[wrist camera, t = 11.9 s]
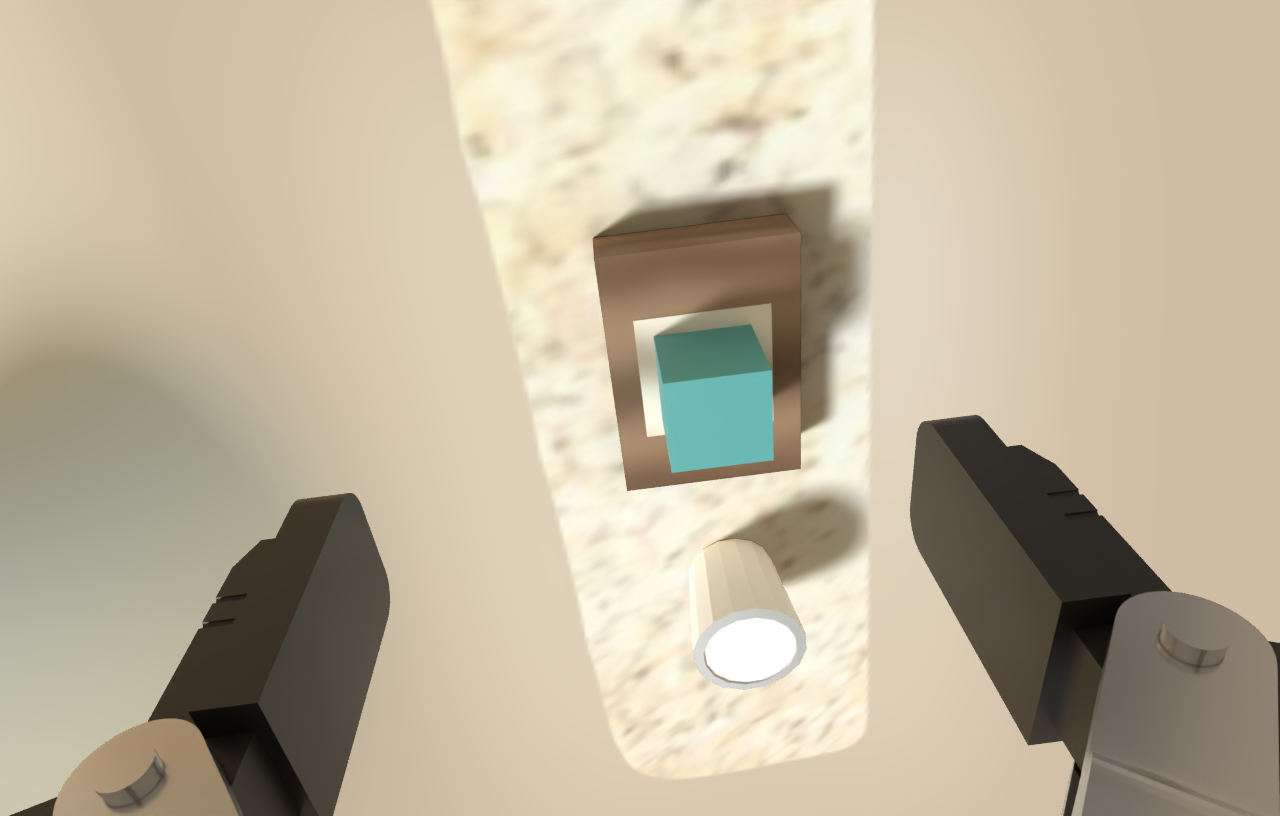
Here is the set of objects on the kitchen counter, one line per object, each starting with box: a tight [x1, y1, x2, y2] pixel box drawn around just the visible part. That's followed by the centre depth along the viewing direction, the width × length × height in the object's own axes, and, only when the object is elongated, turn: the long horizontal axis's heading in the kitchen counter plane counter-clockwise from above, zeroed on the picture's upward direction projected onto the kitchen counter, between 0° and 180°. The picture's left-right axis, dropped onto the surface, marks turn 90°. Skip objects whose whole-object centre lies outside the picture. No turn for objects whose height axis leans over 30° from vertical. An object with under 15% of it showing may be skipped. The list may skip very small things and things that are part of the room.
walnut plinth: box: [593, 214, 801, 491], centre depth 43 cm, size 14×10×3 cm
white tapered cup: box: [689, 539, 807, 690], centre depth 50 cm, size 7×7×7 cm
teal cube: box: [654, 324, 774, 473], centre depth 39 cm, size 5×5×5 cm
